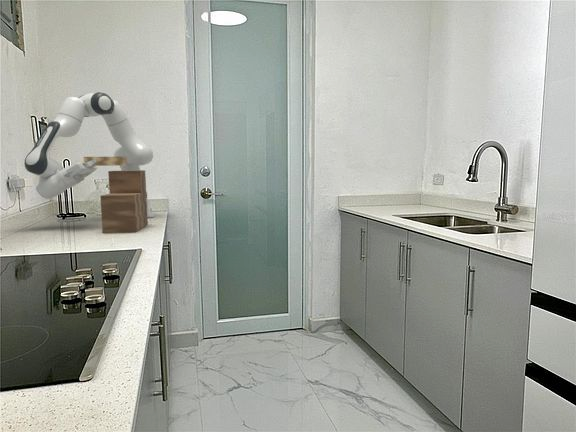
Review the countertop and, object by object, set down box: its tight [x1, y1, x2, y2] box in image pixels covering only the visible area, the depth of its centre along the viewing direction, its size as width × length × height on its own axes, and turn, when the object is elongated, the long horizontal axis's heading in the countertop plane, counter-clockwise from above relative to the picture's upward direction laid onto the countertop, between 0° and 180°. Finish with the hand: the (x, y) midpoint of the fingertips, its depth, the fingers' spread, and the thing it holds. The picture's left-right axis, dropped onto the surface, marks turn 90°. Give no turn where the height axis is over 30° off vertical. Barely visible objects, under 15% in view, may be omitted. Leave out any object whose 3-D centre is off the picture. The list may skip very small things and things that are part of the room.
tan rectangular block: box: [83, 156, 126, 167], centre depth 216 cm, size 18×3×4 cm, turn 94°
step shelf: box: [99, 169, 149, 234], centre depth 212 cm, size 23×14×26 cm, turn 4°
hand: (97, 160), depth 216 cm, fingers closed on tan rectangular block, 3 cm apart
